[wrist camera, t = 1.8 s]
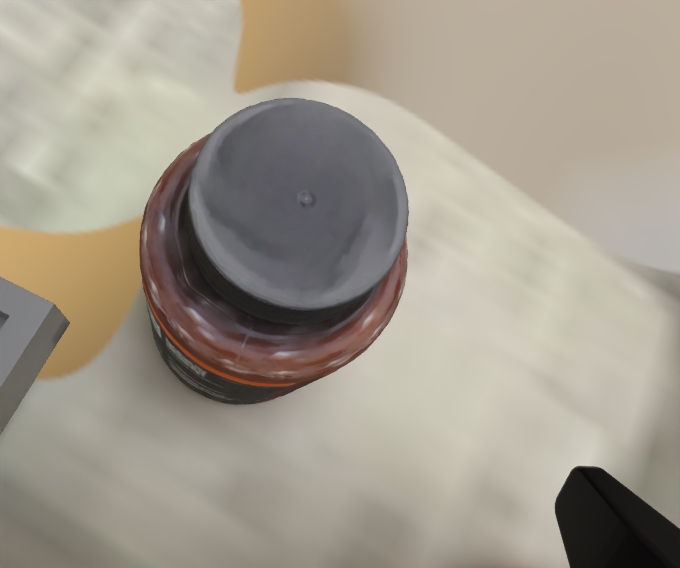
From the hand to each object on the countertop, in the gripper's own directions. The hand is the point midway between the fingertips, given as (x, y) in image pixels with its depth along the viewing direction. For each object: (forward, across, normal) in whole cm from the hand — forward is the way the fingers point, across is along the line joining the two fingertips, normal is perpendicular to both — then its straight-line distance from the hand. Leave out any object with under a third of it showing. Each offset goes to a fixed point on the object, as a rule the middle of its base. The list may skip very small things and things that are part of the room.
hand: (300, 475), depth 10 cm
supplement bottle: (+12, 0, +5) cm, 13 cm away
